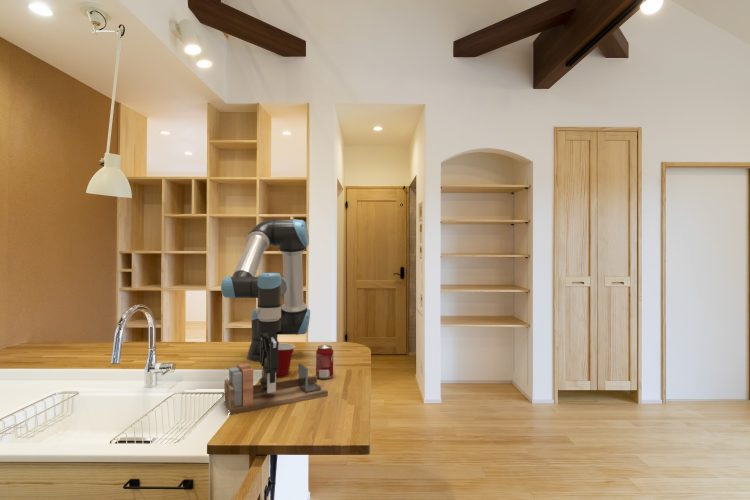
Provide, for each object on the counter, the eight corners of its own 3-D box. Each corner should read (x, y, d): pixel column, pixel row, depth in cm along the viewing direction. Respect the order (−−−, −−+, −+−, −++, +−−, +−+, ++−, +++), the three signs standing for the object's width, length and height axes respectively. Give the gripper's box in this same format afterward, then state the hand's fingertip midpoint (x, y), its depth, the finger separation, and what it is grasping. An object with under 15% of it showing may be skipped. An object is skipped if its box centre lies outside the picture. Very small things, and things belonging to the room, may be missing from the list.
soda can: (330, 380, 153) (330, 349, 153) (313, 379, 154) (313, 348, 154) (335, 375, 160) (335, 345, 160) (319, 373, 161) (319, 344, 161)
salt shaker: (271, 394, 128) (271, 357, 128) (255, 391, 130) (255, 355, 130) (281, 388, 134) (281, 352, 134) (266, 386, 136) (266, 351, 136)
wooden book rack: (224, 402, 130) (224, 364, 130) (315, 386, 147) (315, 352, 147) (230, 414, 121) (231, 373, 121) (327, 395, 137) (328, 359, 137)
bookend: (298, 386, 141) (298, 363, 141) (313, 383, 144) (313, 361, 144) (305, 392, 135) (305, 368, 135) (321, 389, 138) (321, 366, 138)
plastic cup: (298, 376, 157) (298, 346, 157) (270, 380, 152) (270, 349, 152) (291, 369, 167) (291, 340, 167) (265, 372, 162) (265, 343, 162)
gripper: (250, 316, 138) (250, 382, 138) (265, 325, 122) (265, 400, 122) (272, 314, 142) (271, 379, 142) (289, 323, 126) (288, 396, 126)
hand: (268, 388), depth 132 cm, fingers closed on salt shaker, 6 cm apart
